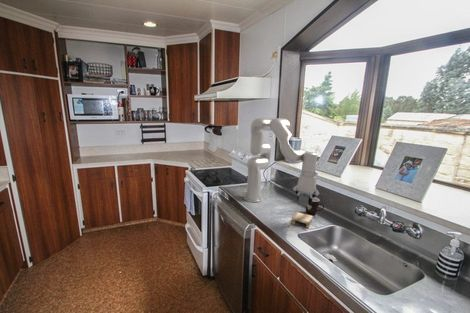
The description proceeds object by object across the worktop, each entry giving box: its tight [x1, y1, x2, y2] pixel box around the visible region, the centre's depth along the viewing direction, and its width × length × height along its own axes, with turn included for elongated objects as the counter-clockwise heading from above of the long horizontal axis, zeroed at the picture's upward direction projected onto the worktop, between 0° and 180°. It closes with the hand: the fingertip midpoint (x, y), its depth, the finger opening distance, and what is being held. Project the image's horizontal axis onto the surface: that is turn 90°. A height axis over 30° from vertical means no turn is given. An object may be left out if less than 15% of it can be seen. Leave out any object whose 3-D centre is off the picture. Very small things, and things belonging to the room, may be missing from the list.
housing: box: [297, 192, 310, 208], centre depth 141 cm, size 8×6×6 cm
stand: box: [290, 211, 314, 230], centre depth 144 cm, size 10×10×4 cm
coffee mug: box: [305, 196, 325, 216], centre depth 156 cm, size 12×9×10 cm
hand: (304, 202), depth 141 cm, fingers closed on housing, 5 cm apart
